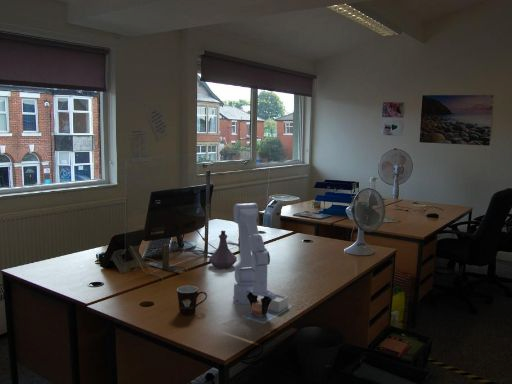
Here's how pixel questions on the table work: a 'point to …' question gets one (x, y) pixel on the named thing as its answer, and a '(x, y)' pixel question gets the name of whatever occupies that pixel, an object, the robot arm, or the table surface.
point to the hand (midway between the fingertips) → (259, 312)
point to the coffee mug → (188, 299)
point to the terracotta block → (257, 309)
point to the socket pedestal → (278, 303)
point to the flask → (223, 254)
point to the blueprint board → (267, 317)
